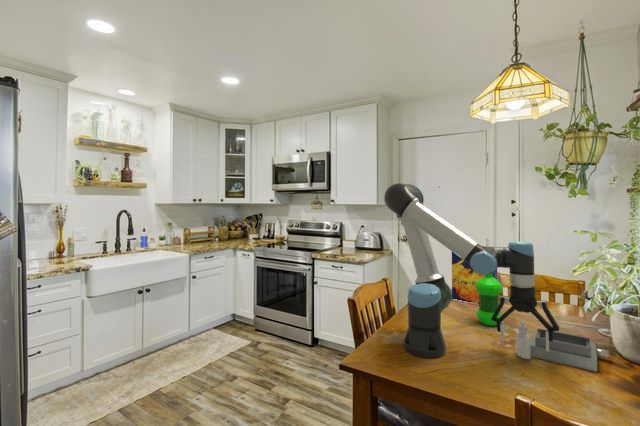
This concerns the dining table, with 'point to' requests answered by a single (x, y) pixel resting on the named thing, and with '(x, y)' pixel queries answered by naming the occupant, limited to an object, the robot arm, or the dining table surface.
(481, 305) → the plastic bottle
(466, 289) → the cereal box
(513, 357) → the dining table surface
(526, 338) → the eye dropper bottle
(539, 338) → the grey rectangular open box
